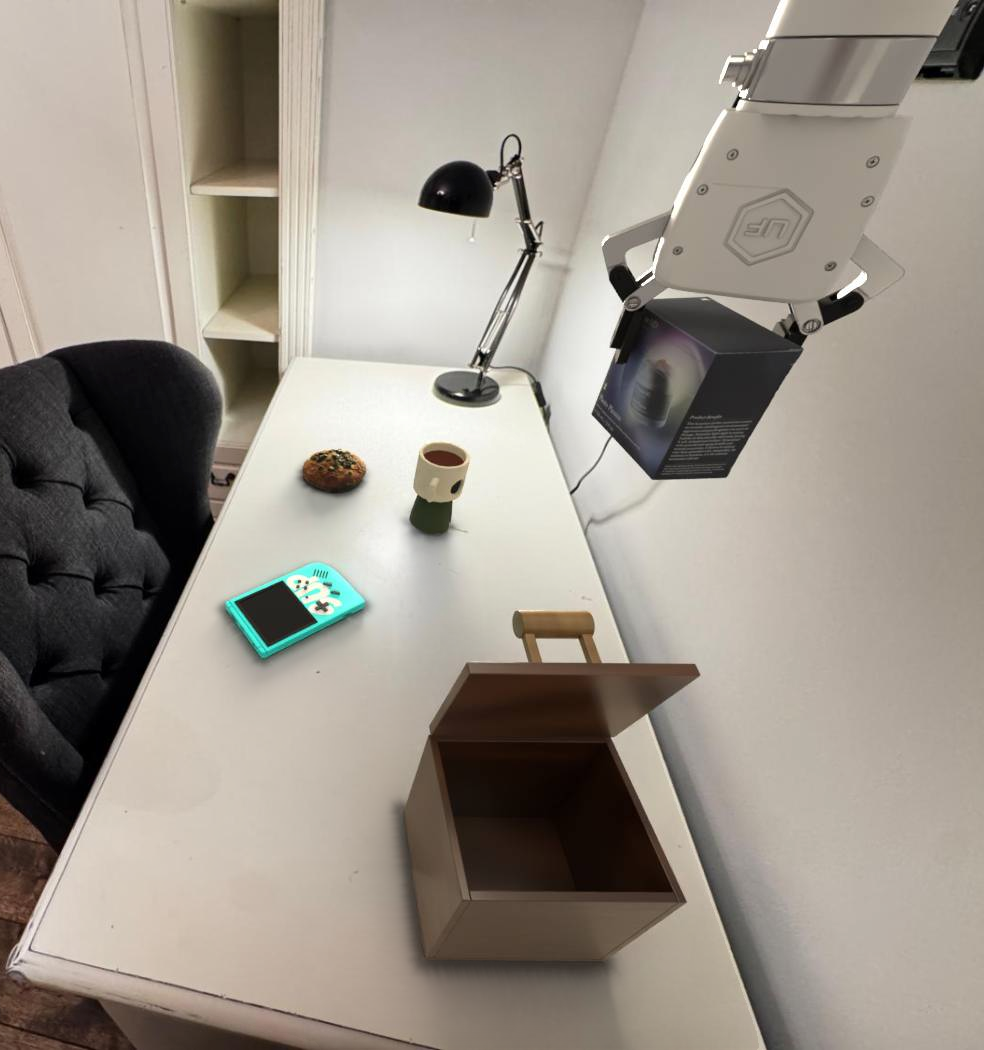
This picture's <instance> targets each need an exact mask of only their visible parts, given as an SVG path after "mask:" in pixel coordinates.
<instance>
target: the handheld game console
mask: <svg viewBox="0 0 984 1050" xmlns="http://www.w3.org/2000/svg"><path fill="white" fill-rule="evenodd" d="M365 603H366V601H365V599H364V597H362V595H361V594H360V593H359V592H357V591H356V589H354V588H353V586H352V585H351V584H350V583H349V582H348V581H347V580H346V579H345V578H344V577H343V576H342V575H341V574H340V573H339V572H338V571H336V570H335V569H334V568H332V567H331V566H330V565H327V564H325V563H323V562H322V563H321V562H312V563H309V564H307V565H305V566H303V567H300V568H297V569H296V570H294V571H291V572H289V573H287V574H284V575H282V576H280V577H278V578H276V579H273V580H271V581H269V582H266V583H264V584H262V585H259V586H257V587H255V588H253V589H251V590H248V591H246V592H244V593H242V594H239V595H238V596H234V597H233V598H230V599H229V600H227V601H225V609H226V611H227V613H228V614H229V615H230V617H231V618H232V620H233V621H234V622H235V624H236V625H237V627H238V628H239V629H240V631H241V632H242V634H243V635H244V636H245V638H246V639H247V640H248V642H249V643H250V644H251V646H252V647H253V649H254V651H256V653H257V654H258V656H259V657H260V658H261V659H266V658H268V657H270V656H272V655H274V654H276V653H278V652H280V651H281V650H284V649H286V648H287V647H291V646H292V645H294V644H295V643H297V642H299V641H302V640H304V639H305V638H307V637H309V636H311V635H314V634H315V633H317V632H320V631H322V630H323V629H325V628H328V627H329V626H331V625H333V624H335V623H337V622H339V621H341V620H343V619H344V618H346V617H349V616H351V615H352V614H354V613H357V612H358V611H359V612H360V610H362V609H364V608H365Z"/></svg>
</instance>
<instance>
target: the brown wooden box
mask: <svg viewBox="0 0 984 1050" xmlns="http://www.w3.org/2000/svg"><path fill="white" fill-rule="evenodd" d="M646 812H647V811H646V810H645V808H644V806H643V803H642V801H641V799H640V797H639V795H638V792H637V791H636V788H635V786H634V784H633V782H632V780H631V777H630V776H629V773H628V772H627V769H626V767H625V765H624V763H623V760H622V758H621V756H620V754H619V752H618V750H617V748H616V746H615V742H614V741H613V739H612V737H508V736H431V735H430V733H429V734H428V736H427V739H426V741H425V744H424V748H423V750H422V753H421V757H420V760H419V762H418V766H417V769H416V772H415V775H414V779H413V782H412V784H411V787H410V790H409V793H408V796H407V800H406V803H405V806H404V810H403V812H402V813H403V819H404V826H405V833H406V840H407V846H408V847H407V848H408V854H409V860H410V867H411V873H412V880H413V887H414V893H415V901H416V907H417V913H418V914H417V915H418V921H419V927H420V934H421V941H422V946H423V947H422V948H423V954H424V959H425V960H426V961H427V960H428V961H429V960H430V961H523V962H524V961H526V962H527V961H528V962H529V961H530V962H531V961H533V962H536V961H537V962H538V961H539V962H540V961H542V962H545V961H546V962H606V961H607V960H609V958H611V957H612V956H614V955H615V954H617V953H618V952H619V951H621V950H623V949H624V948H625V947H627V946H628V945H630V944H631V943H633V942H634V941H635V940H636V939H638V938H639V937H641V936H642V935H643V934H645V933H647V932H648V931H649V930H651V929H653V927H655V926H656V925H658V924H659V923H661V922H662V921H663V920H665V919H666V918H667V917H669V916H670V915H672V914H673V913H674V912H676V911H677V910H679V909H680V908H681V907H683V906H684V905H686V904H687V903H688V901H687V898H686V896H685V894H684V892H683V890H682V887H681V886H680V883H679V881H678V879H677V877H676V874H675V872H674V870H673V868H672V866H671V864H670V862H669V859H668V857H667V855H666V852H665V851H664V849H663V846H662V844H661V843H660V841H659V839H658V836H657V834H656V832H655V829H654V827H653V825H652V823H651V821H650V818H649V817H648V815H647V813H646Z"/></svg>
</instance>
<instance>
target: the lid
mask: <svg viewBox="0 0 984 1050" xmlns="http://www.w3.org/2000/svg"><path fill="white" fill-rule="evenodd" d="M511 622H512V623H511V626H512V631H513V634H514V636H515V637H516V638H517V639H521V641H522V644H523V645H522V646H523V648H524V652H525V656H526V659H527V661H526V662H523V661H522V662H521V661H467V662H466V663H465V664H464V666H463V668H462V669H461V672H460V673H459V674H458V676H457V678H456V680H455V681H454V683H453V684H452V687H451V688H450V690H449V692H448V693H447V695H446V696H445V698H444V700H443V702H442V703H441V705H440V706H439V708H438V710H437V712H436V713H435V715H434V717H433V718H432V720H431V722H430V724H429V725H428V728H429V734H430V735H431V736H508V737H611V738H615V737H617V736H618V735H620V734H621V733H622V732H623V731H625V730H627V729H628V728H629V727H631V726H632V725H634V724H635V723H636V722H638V721H639V720H641V719H642V718H644V717H645V716H646V715H648V714H649V713H651V711H653V710H654V709H656V708H657V707H658V706H661V705H662V704H663V703H664V702H666V701H667V700H669V699H670V698H671V697H672V696H674V695H676V694H677V693H679V692H680V691H681V690H682V689H684V688H686V687H687V686H688V685H690V684H691V683H692V682H694V681H695V680H696V679H698V678H700V677H701V673H700V670H699V668H698V666H697V664H696V663H671V662H670V663H668V662H667V663H664V662H663V663H658V662H656V663H653V662H652V663H651V662H650V663H649V662H648V663H647V662H646V663H645V662H602V659H601V657H600V654H599V651H598V648H597V646H596V642H595V640H594V637H593V636H594V634H595V630H596V624H595V619H594V617H593V614H592V613H591V612H590V611H588V610H584V609H583V610H580V609H579V610H578V609H577V610H575V609H573V610H572V609H571V610H570V609H565V610H562V609H561V610H560V609H546V610H545V609H516V610H514V612H513V614H512V619H511ZM537 639H541V640H543V639H544V640H578V643H579V644H580V647H581V648H580V649H581V651H582V653H583V656H584V659H585V662H543V660H542V657H541V653H540V649H539V646H538V642H537Z"/></svg>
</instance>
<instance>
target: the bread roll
mask: <svg viewBox="0 0 984 1050" xmlns="http://www.w3.org/2000/svg"><path fill="white" fill-rule="evenodd" d="M366 473H367V465H366V463H365V461H363V460H362V458H361V457H359V456H358V455H357V454H356V453H353V452H352V451H350V450H345V449H342V448H338V449H334V448H331V449H324V450H319V451H317V452H315V453H312V454H311V455H310V456H309V458H307V459H306V460H305V461H304V463H303V466H302V470H301V474H302V476H303V479H304V480H305V481H306V482H307V483H308V484H310V485H311V486H314V487H315V488H318V489H320V490H322V491H326V492H328V493H332V494H340V493H344V492H347V491H350V490H352V489H353V488H355V487H357V486H358V485H359V484H360V483H361V482H362V480H363V478H364V477H365V475H366Z"/></svg>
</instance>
